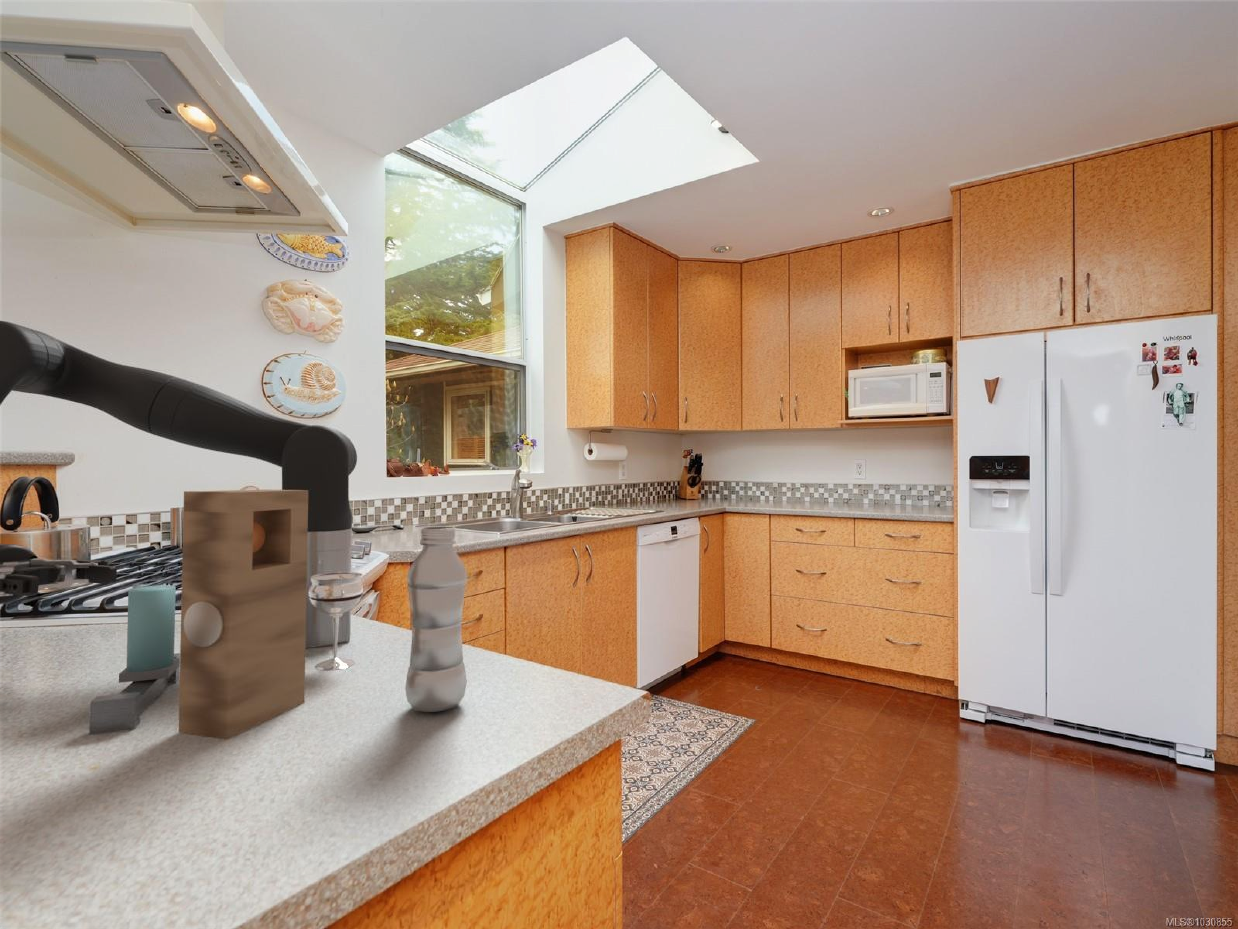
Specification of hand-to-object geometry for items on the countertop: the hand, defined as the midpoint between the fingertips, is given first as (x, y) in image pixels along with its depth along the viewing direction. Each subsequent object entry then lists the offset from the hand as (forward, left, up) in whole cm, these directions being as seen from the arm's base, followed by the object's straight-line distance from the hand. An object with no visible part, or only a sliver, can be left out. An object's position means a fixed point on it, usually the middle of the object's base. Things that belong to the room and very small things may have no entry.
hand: (76, 580), depth 74 cm
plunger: (-19, +17, +5) cm, 26 cm away
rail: (-9, +10, -13) cm, 19 cm away
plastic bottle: (-40, +24, -13) cm, 48 cm away
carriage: (-9, +7, -10) cm, 16 cm away
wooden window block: (-21, +19, -13) cm, 31 cm away
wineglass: (-29, +3, -13) cm, 32 cm away
